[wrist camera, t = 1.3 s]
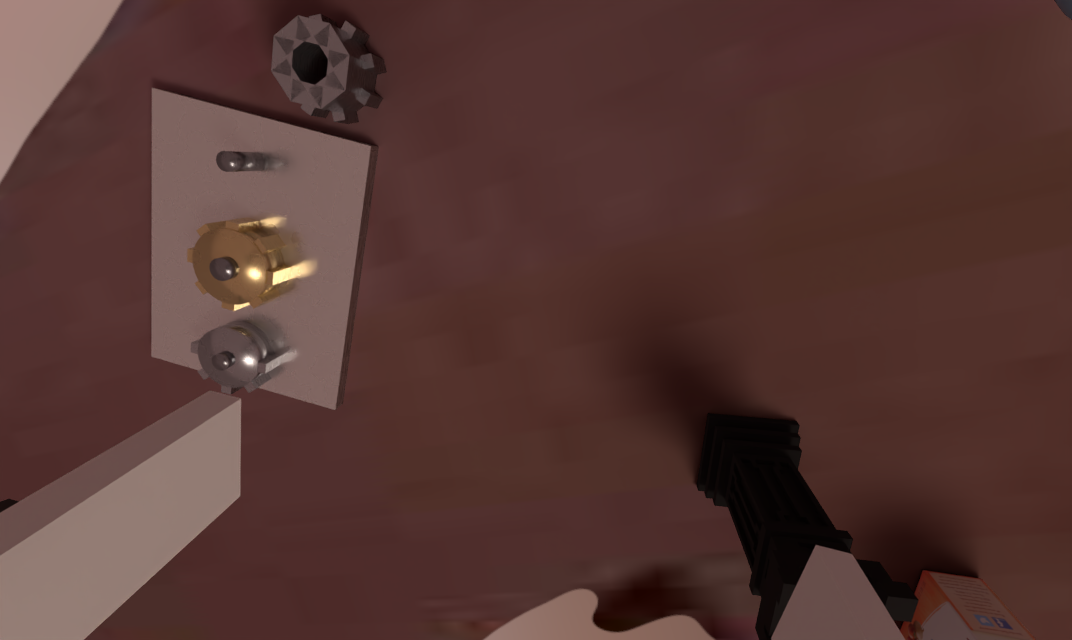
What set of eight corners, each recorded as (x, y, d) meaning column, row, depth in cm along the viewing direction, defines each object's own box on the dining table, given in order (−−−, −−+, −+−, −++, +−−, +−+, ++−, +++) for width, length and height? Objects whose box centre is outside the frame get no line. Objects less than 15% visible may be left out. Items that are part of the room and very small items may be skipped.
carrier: (166, 90, 45) (109, 80, 40) (378, 146, 44) (348, 144, 39) (163, 351, 53) (115, 371, 48) (342, 403, 52) (313, 429, 47)
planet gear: (304, 14, 42) (266, -6, 37) (391, 36, 41) (364, 19, 37) (295, 110, 44) (259, 103, 39) (378, 131, 44) (350, 127, 39)
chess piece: (696, 485, 50) (754, 680, 31) (707, 413, 48) (777, 577, 29) (780, 494, 49) (892, 700, 30) (796, 421, 47) (928, 595, 28)
